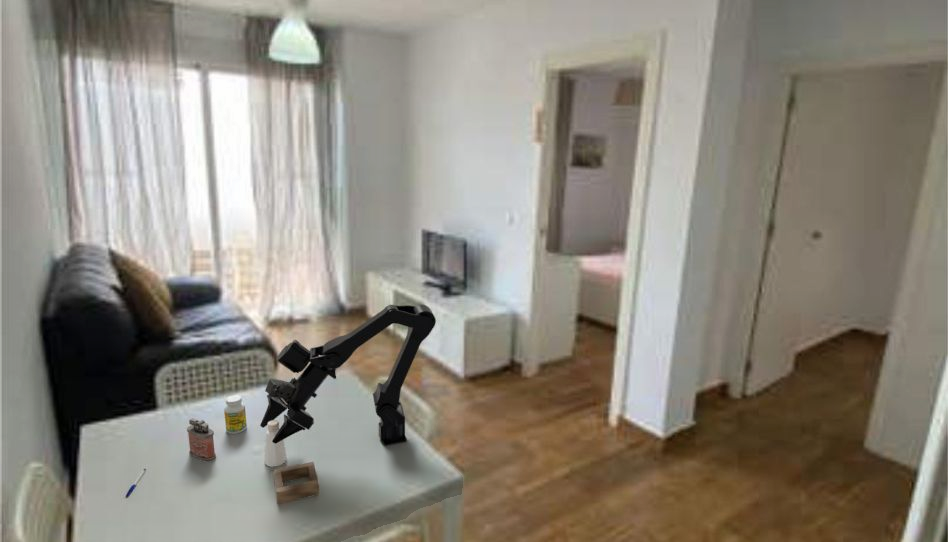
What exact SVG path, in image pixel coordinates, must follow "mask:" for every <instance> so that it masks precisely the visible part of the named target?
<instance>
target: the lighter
mask: <svg viewBox="0 0 948 542" xmlns="http://www.w3.org/2000/svg"><path fill="white" fill-rule="evenodd" d="M188 421H189V422H188V423H189V426H187V427H186V431H187V434H188V435H187V436H188V444H189V451H188V452H189V456H191V457H192V458H193V459H195V460H198V461H201V462H204V463H205V462H206V463H210V462H213V461H215V460H216V458H217V456H216V452H215V444H214V443H215V442H214V435H215V434H214V433H215V432H214V430H213V429H211V428H210V427H209V423H206V422H205V420H204V419H201V420H199V419H196V418H194V417H193V418H190V419H188Z"/></svg>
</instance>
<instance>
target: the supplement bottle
mask: <svg viewBox="0 0 948 542" xmlns="http://www.w3.org/2000/svg"><path fill="white" fill-rule="evenodd" d="M225 404H226V405H225V406H224V409H223V411H224V420H225V431H226V432H227V434H234V435H235V434H240V433H242V432H243V431H245V430H246V429H247V427H248V426H247V424H248V423H247V417H246V416H247V413H246V405H245V403H243V399H242V396H241V395H238V394H237V395H229V397H226V399H225Z"/></svg>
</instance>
